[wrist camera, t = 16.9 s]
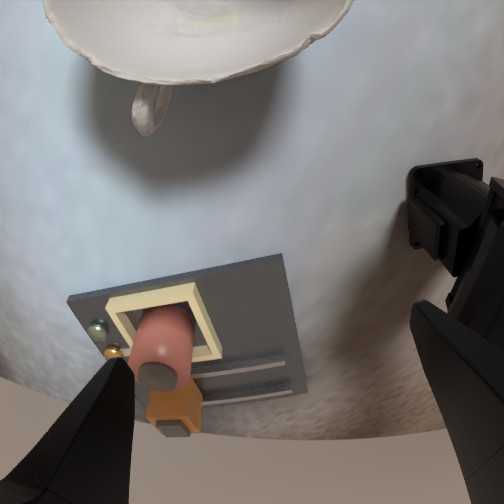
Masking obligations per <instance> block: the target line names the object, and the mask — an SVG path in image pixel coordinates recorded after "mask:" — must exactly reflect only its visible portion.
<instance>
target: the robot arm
mask: <svg viewBox="0 0 504 504" xmlns="http://www.w3.org/2000/svg"><path fill="white" fill-rule="evenodd" d="M477 164H478V166H477ZM476 166H477V167H476ZM419 171H420V174H419V176H416V175H417V173H418V172H419ZM482 178H483V162H482V161H481V160H479V159H478V158H473V159H465V160H457V161H449V162H442V163H434V164H427V165H420V166H415V167H414V168H413V169H412V170H411V197H410V199H409V224H408V229H409V231H410V245H411V246H412V247H413V249H420V248H424V249H425V250H426V251H427V252H428V254H429V255H430V256H431V257H432V258H433V259H434V260H435V261H436V260H440V261H441V263H442V264H443V265H444V266H445V268H446V269H447V270H448V271H449V273H450V274H451V275H452V276H453V277H457V276H458V277H457V279H456V282H455V284H454V286H453V288H452V290H451V293H449V294H448V296H447V298H446V300H445V302H446V306H447V310H448V312H447V313H446V312H444V311H442V310H441V309H439V308H438V307H436V306H435V305H433V304H432V303H430V302H428V301H427V300H422V301H418V302H415V303H413V305H412V310H411V317H410V329H411V332H412V335H413V338H414V341H415V344H416V347H417V351H418V354H419V357H420V360H421V364H422V367H423V370H424V372H425V375H426V378H427V380H428V382H429V385H430V387H431V389H432V392H433V394H434V397H435V399H436V402H437V404H438V407H439V409H440V412H441V414H442V417H443V419H444V422H445V425H446V427H447V430H448V433H449V436H450V438H451V441H452V444H453V447H454V450H455V452H456V455H457V458H458V461H459V464H460V467H461V471H462V474H463V477H464V480H465V484H466V487H467V490H468V494H469V497H470V501H471V504H504V180H503V179H499V178H495V177H491V180H490V184H489V185H487V184H486V183H484V182H483V181H482ZM416 241H418V242H417V243H416V244H415V242H416ZM134 419H135V376H134V373H133V371H132V370H131V368H130V367H129V365H128V364H127V363H126V361H125V360H124V359H123V358H122V357H112V358H110V359H108V360H107V362H106V363H105V364H104V365H103V366H102V367H101V369H100V370H99V371H98V372H97V373H96V374H95V375H94V377H93V378H92V379H91V380H90V381H89V382H88V384H87V385H86V386H85V387H84V388H83V389H82V391H81V392H80V393H79V394H78V395H77V396H76V398H75V399H74V400H73V401H72V402H71V403H70V405H69V406H68V407H67V408H66V409H65V411H64V412H63V413H62V414H61V415H60V417H59V418H58V419H57V420H56V421H55V423H54V424H53V425H52V426H51V427H50V429H49V430H48V432H46V433H45V435H44V436H43V437H42V438H41V439H40V441H39V442H38V443H37V444H36V445H35V446H34V448H33V449H32V450H31V451H30V452H29V453H28V454H27V455H26V456H25V457H24V458H23V459H22V460H21V461H20V463H18V465H17V466H16V467H15V468H14V469H13V470H12V471H11V472H10V473H9V474H8V475H7V476H6V477H5V478H3V479H2V480H0V504H129V503H128V502H129V482H130V466H131V453H132V440H133V430H134Z"/></svg>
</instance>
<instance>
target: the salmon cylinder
mask: <svg viewBox="0 0 504 504" xmlns="http://www.w3.org/2000/svg"><path fill="white" fill-rule="evenodd" d="M194 336H195V322H194V319H193V318H192V316H191V315H190V314H189V313H188V312H187V311H185V310H184V309H182V308H180V307H178V306H175V305H172V304H167V305H161V306H155V307H149V308H146V309H145V310H144V311H143V313H142V315H141V318H140V321H139V325H138V328H137V332H136V335H135V339H134V342H133V346H132V349H131V353H130V357H129V360H128V365H129V367H130V368H131V370H132V371H133V373H134V376H135V381H136V382H138V383H139V384H141V385H143V386H145V387H146V388H148V389H151V390H154V391H160V392H166V391H175V390H179V389H181V388H183V387H185V386H186V385H187V384H188V383H189V380H190V372H191V363H192V354H193V345H194Z"/></svg>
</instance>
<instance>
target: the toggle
mask: <svg viewBox="0 0 504 504" xmlns="http://www.w3.org/2000/svg"><path fill="white" fill-rule="evenodd" d="M202 401H203V394H202V393H201V391H200V390H199V388H198V386H197V385H196V383H195V382H194V380H193V379H190V380H189V383H188V384H187V385H186V386H185V387H183V388H181V389H179V390H175V391H166V392H160V391H154V390H151V392H150V397H149V403H148V408H147V414H146V419H147V420H148V421H149V422H150V423H151V424H152V425H153V426H154V427H155V428H156V429H157V430H158V431H159V432H160V433H161V434H164V435H165V436H166V437H188V436H190V434H191V433H201V416H202Z"/></svg>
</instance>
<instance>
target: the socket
mask: <svg viewBox="0 0 504 504" xmlns="http://www.w3.org/2000/svg"><path fill="white" fill-rule="evenodd" d="M184 301H188V303H189V305H190V307H191V309H192V312H193V314H194V316H195V318H196V320H197V323H198V325H199V327H200V329H201V331H202V333H203V336H204V338H205V340H206V342H207V344H208V345H204V346H197V347H193V354H192V362H199V361H207V360H214V359H221V358H222V346H221V344H220V341H219V339H218V337H217V334H216V332H215V330H214V327H213V325H212V323H211V320H210V318H209V316H208V313H207V311H206V308H205V306H204V304H203V301H202V299H201V296H200V294H199V291H198V289H197V286H196V284H195V282H193V283H188V284H183V285H177V286H172V287H167V288H162V289H156V290H151V291H146V292H140V293H135V294H129V295H124V296H118V297H113V298H109V301H108V303H107V305H106V307H105V309H106V310H107V312H108V314H109V315H110V317H111V319H112V320H113V322H114V323H115V325H116V327H117V328H118V330H119V331H120V333H121V334H122V336H123V337H124V339H125V340H126V342H127V343H128V345H129V346H130V348H131V349H132V346H133V342H134V339H135V335H136V330H135V329H134V327H133V325H132V324H131V322H130V320H129V319H128V317H127V315H126V314H125V311H131V310H137V309H143V308H149V307H155V306H161V305H167V304H172V303H178V302H184Z"/></svg>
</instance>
